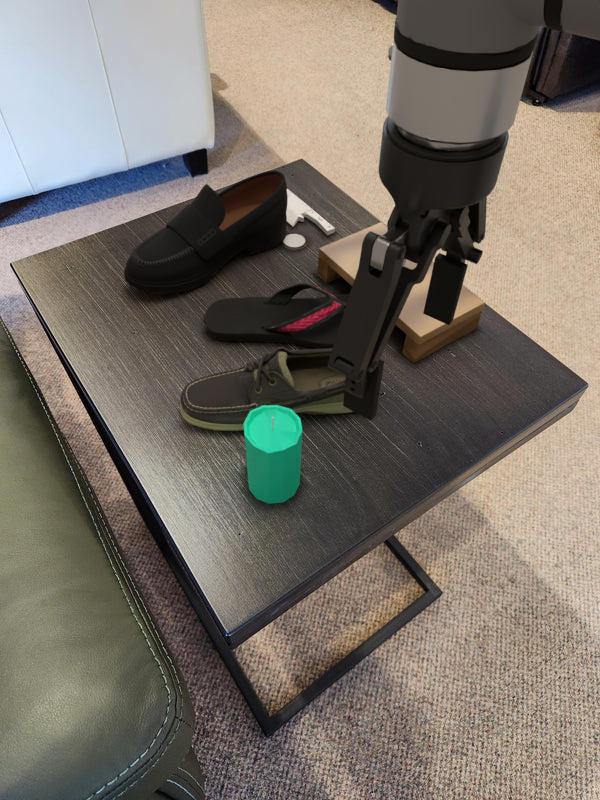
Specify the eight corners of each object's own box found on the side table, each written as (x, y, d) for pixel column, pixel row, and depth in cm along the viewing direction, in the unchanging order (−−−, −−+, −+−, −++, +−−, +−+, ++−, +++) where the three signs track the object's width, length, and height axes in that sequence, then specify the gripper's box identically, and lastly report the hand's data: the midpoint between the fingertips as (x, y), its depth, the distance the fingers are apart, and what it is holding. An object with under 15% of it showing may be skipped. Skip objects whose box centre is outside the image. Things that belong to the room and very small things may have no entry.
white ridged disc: (277, 240, 96) (277, 237, 96) (298, 233, 98) (298, 230, 97) (290, 254, 94) (290, 251, 94) (311, 246, 96) (311, 243, 95)
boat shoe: (177, 388, 76) (168, 344, 70) (363, 359, 80) (371, 314, 74) (185, 446, 70) (176, 404, 64) (385, 411, 75) (395, 368, 68)
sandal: (388, 349, 81) (394, 319, 77) (203, 352, 80) (199, 322, 76) (379, 303, 87) (384, 272, 83) (207, 305, 86) (203, 274, 82)
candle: (236, 484, 67) (229, 421, 58) (269, 450, 70) (268, 384, 61) (277, 513, 65) (277, 453, 56) (310, 476, 68) (315, 413, 59)
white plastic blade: (310, 242, 96) (310, 237, 95) (260, 198, 103) (260, 193, 102) (335, 232, 98) (335, 226, 97) (284, 189, 105) (284, 183, 104)
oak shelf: (476, 328, 85) (485, 302, 81) (413, 363, 80) (420, 337, 76) (377, 248, 95) (381, 221, 92) (317, 275, 91) (318, 248, 87)
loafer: (113, 275, 89) (95, 202, 80) (267, 219, 101) (267, 150, 92) (142, 311, 84) (127, 238, 75) (301, 248, 96) (305, 178, 87)
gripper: (480, 37, 43) (431, 270, 60) (268, 195, 31) (280, 434, 47) (582, 63, 40) (500, 299, 57) (395, 248, 28) (360, 482, 44)
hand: (401, 361), depth 52 cm, fingers open, 13 cm apart
